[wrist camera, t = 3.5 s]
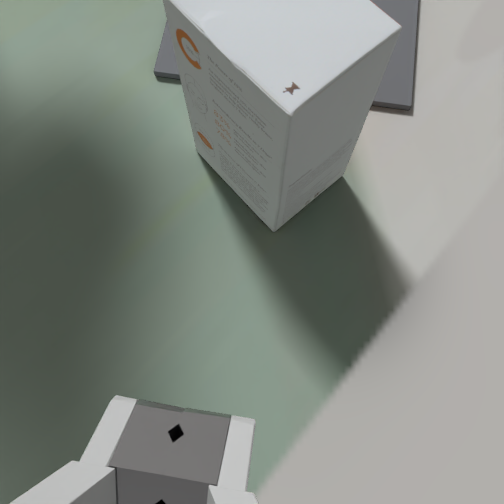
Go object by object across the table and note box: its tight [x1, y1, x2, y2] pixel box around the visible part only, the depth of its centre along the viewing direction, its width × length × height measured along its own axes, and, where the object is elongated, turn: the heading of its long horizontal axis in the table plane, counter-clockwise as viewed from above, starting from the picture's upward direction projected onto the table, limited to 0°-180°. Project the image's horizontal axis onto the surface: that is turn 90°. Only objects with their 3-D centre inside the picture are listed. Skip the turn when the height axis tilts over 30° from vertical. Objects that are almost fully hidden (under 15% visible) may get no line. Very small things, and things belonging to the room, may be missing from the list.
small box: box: [163, 0, 402, 232], centre depth 24 cm, size 8×6×13 cm
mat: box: [154, 0, 418, 110], centre depth 34 cm, size 18×13×1 cm
